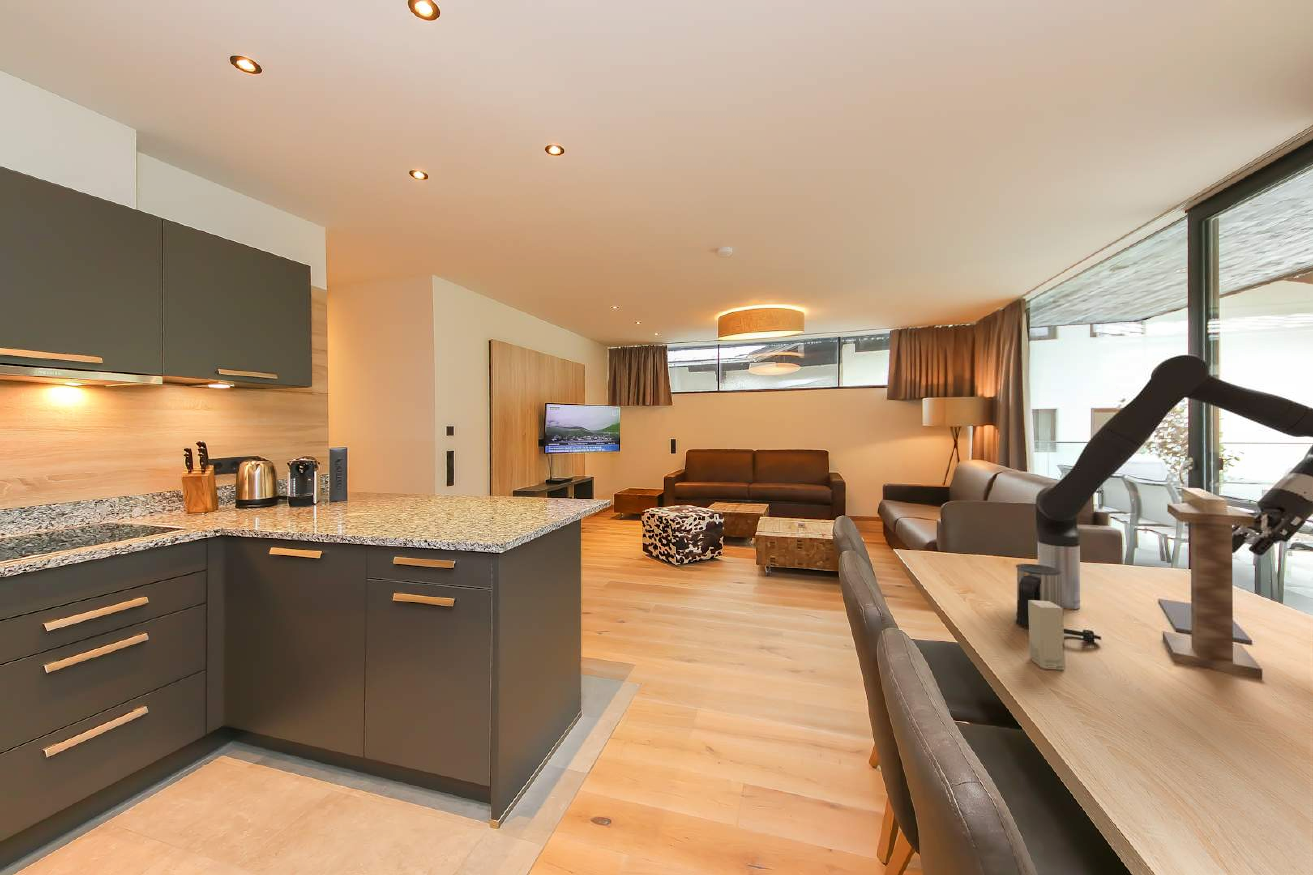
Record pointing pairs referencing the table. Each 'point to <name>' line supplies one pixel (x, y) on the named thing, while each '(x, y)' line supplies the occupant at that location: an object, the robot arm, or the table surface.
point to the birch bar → (1204, 501)
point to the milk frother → (1041, 593)
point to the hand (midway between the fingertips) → (1240, 551)
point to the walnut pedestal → (1211, 595)
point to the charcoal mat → (1182, 619)
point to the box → (1046, 634)
